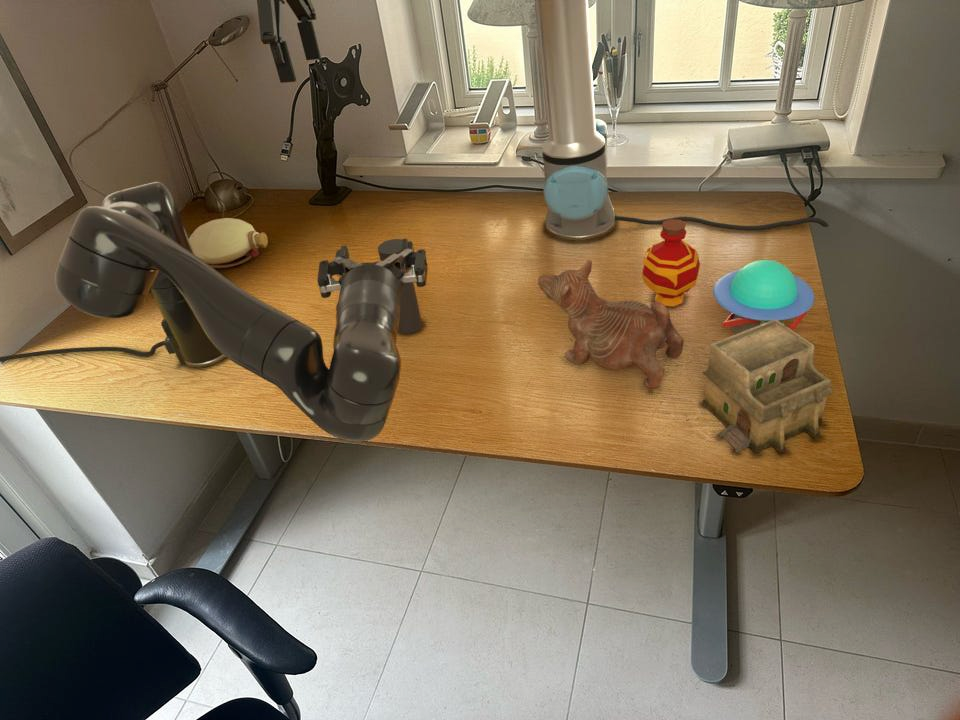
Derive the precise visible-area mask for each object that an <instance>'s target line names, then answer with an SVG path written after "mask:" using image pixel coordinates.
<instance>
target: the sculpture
mask: <svg viewBox="0 0 960 720" xmlns="http://www.w3.org/2000/svg"><path fill="white" fill-rule="evenodd" d="M592 266H593V261H592V260H591V259H588V260H586V262H585V263H584V264H583V265H582V266H581V268H579V269H566V270H564V271H562V272H561V273H559V274H545V273H544V274H541V275H540V276H539V277H538V279H537V284H538V287H539V289H540V290H541V291H542V292H543V294H544V295H545V297H546V298H547V299H549V300H550V301H552V302H554V303H555V304H556V305H557V306H558V307H559V308H560V309H562V311H564V312H565V313H566V314H567V315H568V322H567V326H568V330H569V332H570V333H571V336H573V337H574V338H575V342H574V345H573V349H569V350H567V351H566V352H565V359H566V361H569V362H570V363H574V364H576V365H582V364H584V363H585V362H587V360H588V359H589V356H590V355H591V358H592V359H593V360H594V362H595V363H596V364H598V365H599V366H600V367H603V368H604V369H609V370H621V369H625V368H627V367H630V366H631V365H633V364H636V366H637V367H638V368H639V369H640V370H641V371H642V372H643V373H644V374H645V375H646V376H647V377H646V378H645V380H644V386H645V387H646V388H648V389H657V388H658V387H659V385H660V383H661V381H662V379H663V378H664V375H665V368H664V366H663V365H662V364H661V363H660V362H659V361H658V360H657V357H656V356H657V355H656V354H657V351H659V350H661V349H663V348H664V347H665V346H666V345H667V348H666V350H665V355H666V356H667V357H669V358H671V359H678V358H679V357H680V356H681V354H682V352H683V348H684V342H685V340H684V337H683V336H682V335H681V334H680V333H679V331H678V330H677V329H676V327H675V326H674V324H673V322H672V320H671V315H670V314H671V313H670V311H669V309H668V306H665V305H664V304H663V303H661V302H657V301H655V300H654V301H653V302H651V304H650V305H647V304H645V303H643V302H640V301H636V300H621V301H615V302H614V301H613V302H612V301H609V300H606V299H604V298H602V297H600V296H598V295H597V293H596V290H595V289H594V288H593V286H592V284H591V282H590V280H589V276H590V274H591V272H592Z"/></svg>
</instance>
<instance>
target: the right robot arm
mask: <svg viewBox="0 0 960 720" xmlns="http://www.w3.org/2000/svg"><path fill="white" fill-rule="evenodd" d="M533 1H534V9H535V19H536V30H537V39H538V49H539V58H540V66H541V67H540V68H541V76H542V87H543V94H544V104H545V114H546V123H547V132H548V134H547V135H548V137H547V139H546V140H545V142H543V144H542V146H541V152H542V162H543V164H542V165H543V173H544V185H543V189H542V190H543V191H542V192H543V196H544V201H545V204H546V206H547V207H548V209H547V213H546V216H545V229H546V232H547V233H548V234H549V236H550V235H551V236H552V237H553V238H556V239H558V240H561V241H567V242H586V241H587V242H588V241H594V240H597V239H600V238H604V237H605V236H607V235H608V234H610V233H611V232H613V230H614V229H615V227H616V223H617V221H621V222H629V223H637V224H642V225H648V226H649V225H650V226H658V225H662V224H663V222H664V221H667V220H670V219H676V220H682V221H683V222H691V223H697V224H701V225H705V226H709V227H713V228H719V229H726V230H734V231H746V232H747V231H750V232H751V231H764V230H765V231H766V230H770V229H774V228H775V229H776V228H781V227H788V226H789V227H790V226H795V225H801V224H806V223H816V224H819V225H820V226H822V227H824V228H829V223H827V222H826V221H825V220H824V219H822V218H819V217H814V216H813V217H812V216H811V217H810V216H809V217H803V218H798V219H792V220H784V221H777V222H772V223H766V224H759V225H741V224H740V225H739V224H730V223H724V222H723V223H722V222H716V221H711V220H708V219H704V218H699V217H695V216H674V217H669V218H664V219H644V218H639V217H631V216H623V215H616V212H615V209H614V205H613V204H612V200H611V198H610V195H609V185H608V137H609V133H608V126H607V123H606V122H605V121H604V120H601V119H600V118H596V113H595V111H596V110H595V99H594V78H593V68H592V67H593V66H592V65H593V64H592V49H591V34H590V20H589V19H590V18H589V17H590V16H589V2H588V1H589V0H533ZM256 3H257V4H256V5H257V13H258V24H259V34H260V35H259V36H260V41H261V42H262V44H263V45H269V48H270V51H271V54H272V58H273V61H274V64H275V68H276V72H277V75H278V79H279V83H280V84H284V83H294V82H296V81H297V78H296V77H297V76H296V74H295V70H294V66H293V62H292V58H291V56H290V51H289V48H288V44H287V41H286V40H284V39H283V38H284V34H283V33H284V32H283V31H284V5H285V4H287V5H288V6H289V8H290V10H291V11H292V12H293V14H294V15H295V17H296V18H297V20H298V22H297V23H296V25H297V29H298V33H299V37H300V41H301V44H302V49H303V53H304V56H305V60H306V61H314V60H321V59H322V56H321V53H320V47H319V44H318V43H319V42H318V40H317V36H316V32H315V27H314V23H313V21H316V20H317V14H316V11H315V7H314V5H313V3H312V0H256Z"/></svg>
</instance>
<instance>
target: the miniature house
mask: <svg viewBox="0 0 960 720" xmlns="http://www.w3.org/2000/svg"><path fill="white" fill-rule="evenodd" d="M784 324H785V323H784ZM784 324H782V323H781V322H779V321H778V320H776V319H774V320H772V321H769V322H766V323H764V324H761V325H759V326H756V327H754V328H751V329H748V330H746V331H743V332H741V333H738V334H736V335H735V334H733V335H731V336H727V337H726V338H723V339H720V340H718V341H715V342H713V343H710V348H709V357H708V364H707V369H706V370H704V371H702V375H704V376H705V377H706V383H705V392H704V398H703V399H702V405H703V407H705V409H707V410H708V411H709V412H710V413H711V414H712V415H713V416H714V417H715V418H716V419H717V420H719V421H720V422H721V423H722V424H723V425H724V426H725V427H726V428H725V429H724V430H723V431H721V432H720V433H718V434H719V435H718V436H719V437H720V438H722V437H723V439H724V440H726V441H727V442H728V443H729V444H730V445H731V446H732V447H733V448H734V452H735V453H738V452H739V451H742V450H744V449H747V448H749V449H750V450H752V452H753V453H755V454H756V453H760V452H762V451H764V450H766V449H769V448H773V449H774V450H775V451H776V452H778V453H779V454H780V455H782V454H784V453H785V452H786V451H787V447H786V443H785V441H786V440H788V439H791V438H793V437H796V436H798V435H800V434H802V433H806V434H807V435H809V436H810V437H812V438H813V439H817V438H819V437H820V435H821V432H820V430H819V429H820V428H819V426H820V425H822V424H823V414H824V411H825V407H826V403H827V399H828V396H830V395H833V394H834V393H835V390H833V389H832V387H831V386H832V385H831V384H832V380H831V378H828V377H827V376H826V375H824V373H821V372H820V371H819V370H818V369H817V368H816V367H815V365H814V354H815V345H814V344H813V343H812V342H810V341H808V340H807V339H805V338H804V337H803V336H802V335H800V334H798V333H797V332H795V331H794V330H793V331H792V330H791V329H790V328H788V326H787V325H784Z"/></svg>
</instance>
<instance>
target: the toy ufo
mask: <svg viewBox="0 0 960 720" xmlns="http://www.w3.org/2000/svg"><path fill="white" fill-rule="evenodd" d="M712 293H713V297H714V299H715V301H716V302H717V303H718V305H720V306H721V308H723V309H724V310H726V311H728V312H729V313H730V314H729V315H728V316H727V317H726V319H724V321H723V322H722V329H723V328H730V327H732V328H731V329H732V333H733V335H736V334H738V333H741V332H743V331H746V330H748V329H751V328H754V327H756V326H759V325H761V324H764V323H766V322H769V321H772V320H774V319H776V320H778V321H779V322H781V323H782V324H784V325H785V321H787V320H791V319H795V318H796V319H795V320H794V321H793V322H792V324H790V325H788V326H787V327H788V328H790V329H791V330H792V331H794V330H795V329H796V328H797V326H798V325H799V324H800V323H801V322H802V320H803V319H804V318H805V317H806V315H807V312H808V311H809V310H810V309H811V308H812V307H813V306H814V303H815V299H816V298H815V293H814V290H813V289H812V288H811V286H810V285H809V284H808V283H807V282H806V281H805V280H804V279H802V278H801V277H799V276H798V275H795V274H793V272H792V271H791V270H790V269H789V268H788V267H787V266H786V265H784V264H782V263H781V262H778V261H776V260H770V259H759V260H755V261H752V262H749V263H747V264H745V265H743V266H742V267H741V268H740V269H736V270H733V271H730V272H728V273H726V274H724V275H722V276H721V277H720V278H719V279H717V281H716V282H715V283H714V285H713V288H712ZM785 326H786V325H785Z"/></svg>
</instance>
